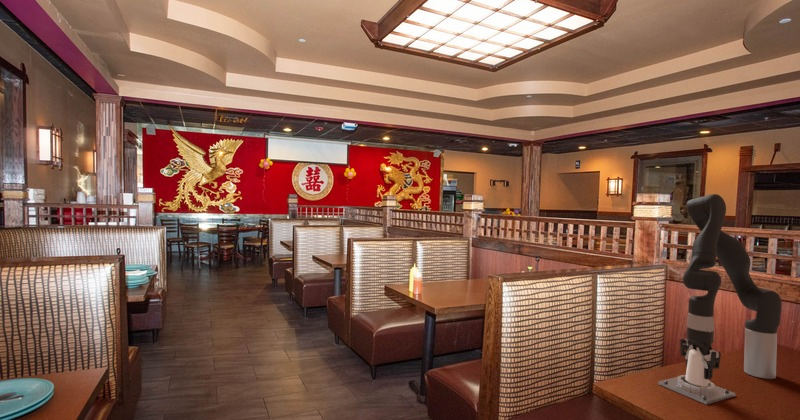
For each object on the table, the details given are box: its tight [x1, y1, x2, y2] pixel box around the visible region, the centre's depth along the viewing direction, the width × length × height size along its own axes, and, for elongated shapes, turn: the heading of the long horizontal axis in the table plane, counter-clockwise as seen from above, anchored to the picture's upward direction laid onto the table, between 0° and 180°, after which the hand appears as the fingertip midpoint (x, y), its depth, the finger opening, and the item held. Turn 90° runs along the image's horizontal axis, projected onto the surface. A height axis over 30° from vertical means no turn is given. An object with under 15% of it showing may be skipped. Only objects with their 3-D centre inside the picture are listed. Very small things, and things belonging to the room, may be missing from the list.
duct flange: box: [657, 374, 736, 406], centre depth 141 cm, size 16×16×3 cm
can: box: [685, 348, 711, 387], centre depth 140 cm, size 6×6×12 cm
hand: (698, 374), depth 140 cm, fingers closed on can, 6 cm apart
